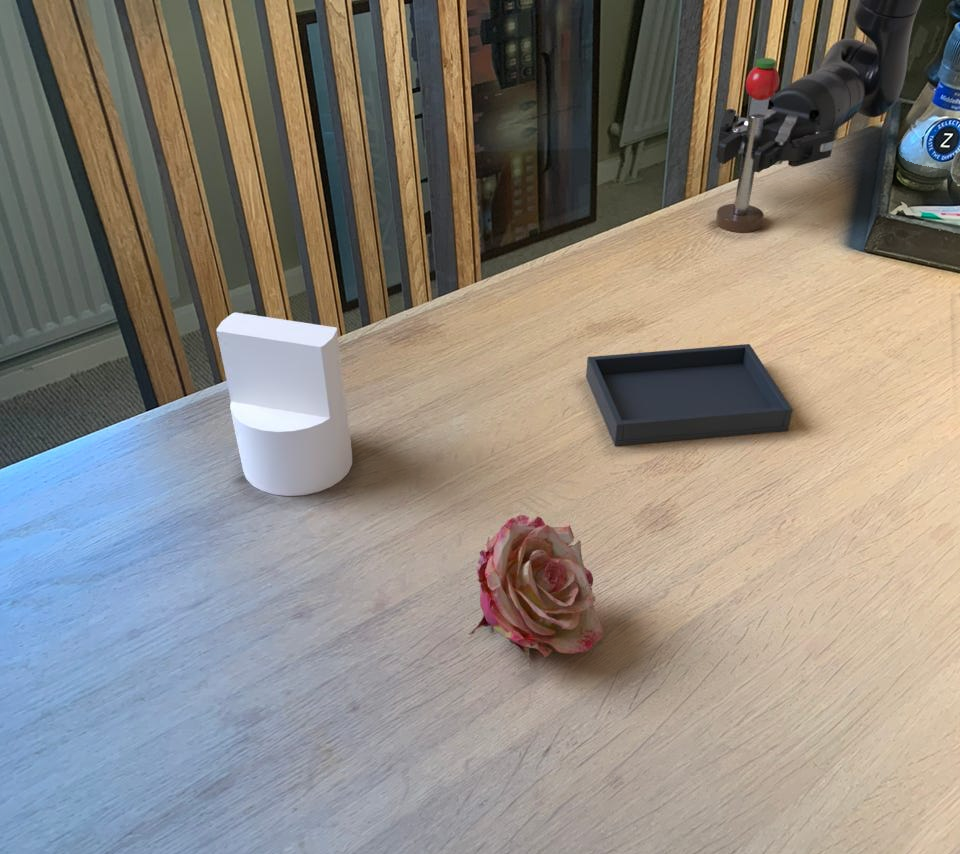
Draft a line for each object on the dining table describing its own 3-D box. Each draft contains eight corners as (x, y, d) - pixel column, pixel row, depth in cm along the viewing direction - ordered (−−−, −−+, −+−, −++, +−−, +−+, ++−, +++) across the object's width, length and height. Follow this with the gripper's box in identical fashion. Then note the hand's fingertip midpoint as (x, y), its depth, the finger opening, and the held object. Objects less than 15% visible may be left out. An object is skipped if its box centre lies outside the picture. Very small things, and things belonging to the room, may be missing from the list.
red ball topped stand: (752, 212, 120) (781, 52, 108) (767, 231, 116) (799, 67, 104) (709, 215, 119) (734, 54, 108) (723, 234, 116) (750, 69, 104)
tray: (745, 364, 96) (749, 343, 94) (788, 430, 88) (793, 409, 86) (585, 377, 94) (587, 356, 93) (614, 446, 86) (616, 424, 85)
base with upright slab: (223, 485, 83) (193, 349, 74) (272, 425, 89) (248, 294, 80) (326, 504, 81) (307, 368, 72) (368, 442, 87) (355, 309, 78)
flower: (422, 635, 68) (480, 591, 61) (467, 532, 72) (525, 480, 66) (540, 706, 70) (607, 671, 64) (575, 602, 75) (641, 559, 69)
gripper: (756, 67, 121) (685, 108, 111) (872, 90, 115) (807, 135, 105) (745, 135, 126) (676, 179, 116) (855, 160, 120) (792, 208, 110)
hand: (739, 158), depth 111 cm, fingers open, 3 cm apart
